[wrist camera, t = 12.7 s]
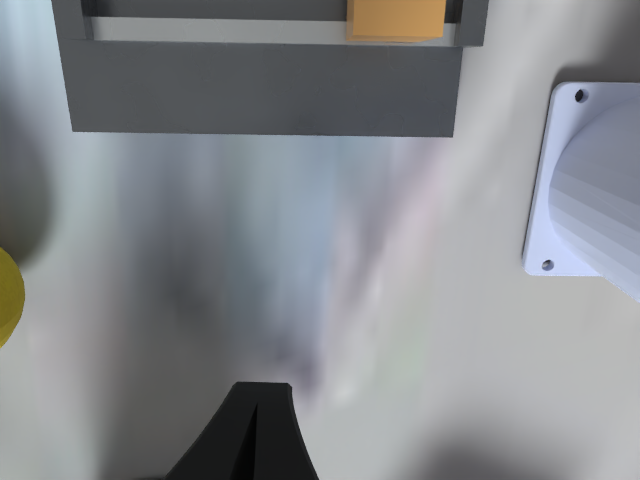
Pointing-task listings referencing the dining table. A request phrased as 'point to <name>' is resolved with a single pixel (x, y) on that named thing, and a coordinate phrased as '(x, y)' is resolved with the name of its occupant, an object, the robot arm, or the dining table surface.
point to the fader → (395, 20)
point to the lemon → (10, 296)
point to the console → (256, 69)
